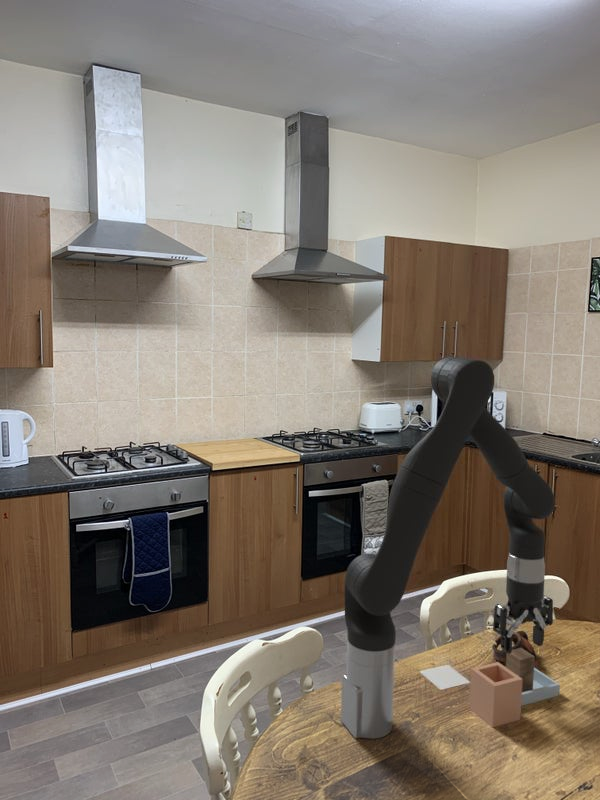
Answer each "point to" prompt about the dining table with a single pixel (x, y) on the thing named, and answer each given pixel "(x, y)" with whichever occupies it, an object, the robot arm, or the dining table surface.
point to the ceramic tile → (444, 677)
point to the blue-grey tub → (540, 689)
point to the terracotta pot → (495, 694)
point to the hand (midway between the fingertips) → (522, 648)
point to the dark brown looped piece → (515, 647)
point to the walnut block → (522, 667)
